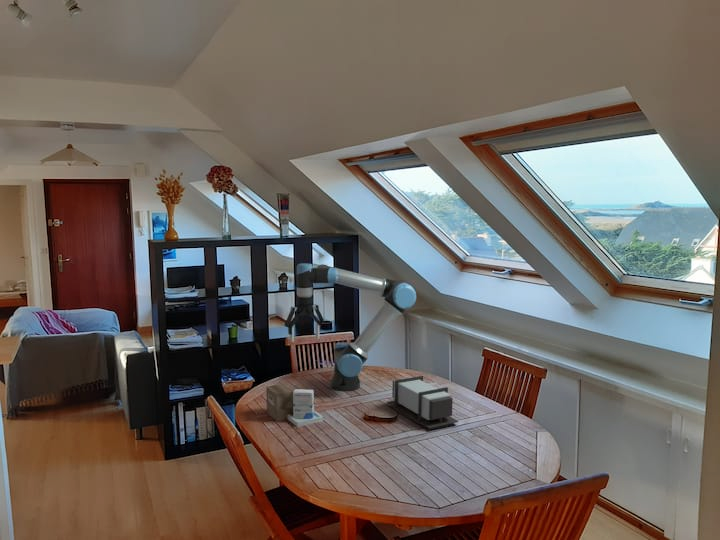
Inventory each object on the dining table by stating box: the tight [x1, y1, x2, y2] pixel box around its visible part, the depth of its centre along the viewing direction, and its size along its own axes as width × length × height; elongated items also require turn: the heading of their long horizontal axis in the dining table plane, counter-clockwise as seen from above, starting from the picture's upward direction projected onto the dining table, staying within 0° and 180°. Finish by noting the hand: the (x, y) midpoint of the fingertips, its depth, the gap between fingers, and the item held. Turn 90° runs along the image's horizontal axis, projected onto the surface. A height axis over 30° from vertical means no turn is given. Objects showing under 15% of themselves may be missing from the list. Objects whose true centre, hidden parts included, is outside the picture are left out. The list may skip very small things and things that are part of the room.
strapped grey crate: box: [386, 375, 459, 431], centre depth 251 cm, size 15×15×35 cm
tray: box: [286, 410, 324, 428], centre depth 246 cm, size 12×12×2 cm
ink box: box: [293, 388, 315, 419], centre depth 245 cm, size 9×5×12 cm, turn 84°
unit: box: [265, 383, 294, 422], centre depth 250 cm, size 8×12×12 cm
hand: (304, 339), depth 271 cm, fingers open, 13 cm apart
